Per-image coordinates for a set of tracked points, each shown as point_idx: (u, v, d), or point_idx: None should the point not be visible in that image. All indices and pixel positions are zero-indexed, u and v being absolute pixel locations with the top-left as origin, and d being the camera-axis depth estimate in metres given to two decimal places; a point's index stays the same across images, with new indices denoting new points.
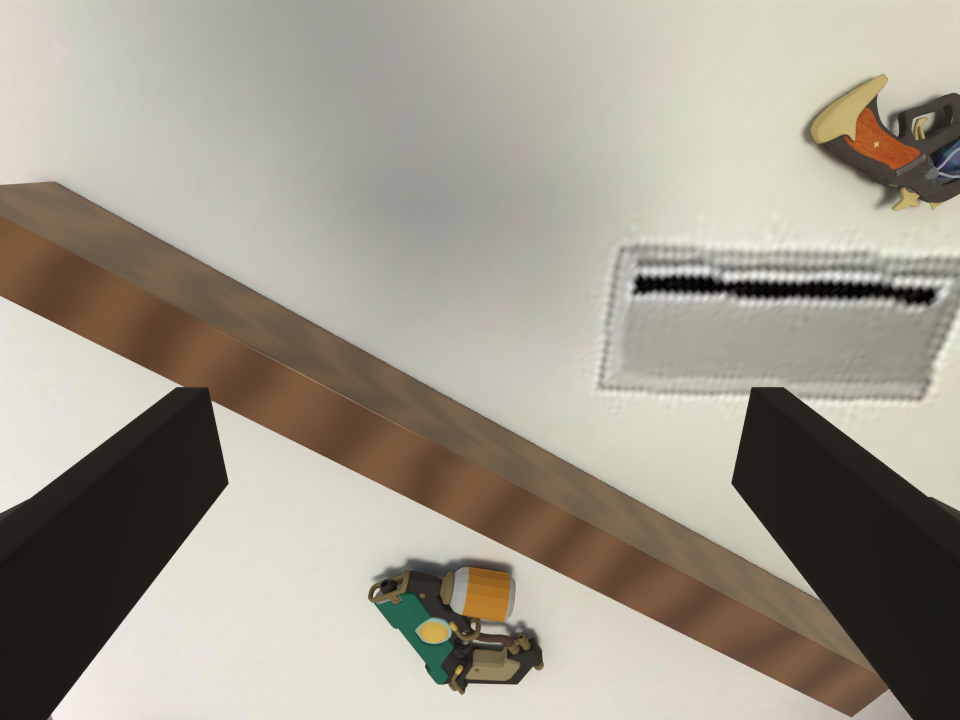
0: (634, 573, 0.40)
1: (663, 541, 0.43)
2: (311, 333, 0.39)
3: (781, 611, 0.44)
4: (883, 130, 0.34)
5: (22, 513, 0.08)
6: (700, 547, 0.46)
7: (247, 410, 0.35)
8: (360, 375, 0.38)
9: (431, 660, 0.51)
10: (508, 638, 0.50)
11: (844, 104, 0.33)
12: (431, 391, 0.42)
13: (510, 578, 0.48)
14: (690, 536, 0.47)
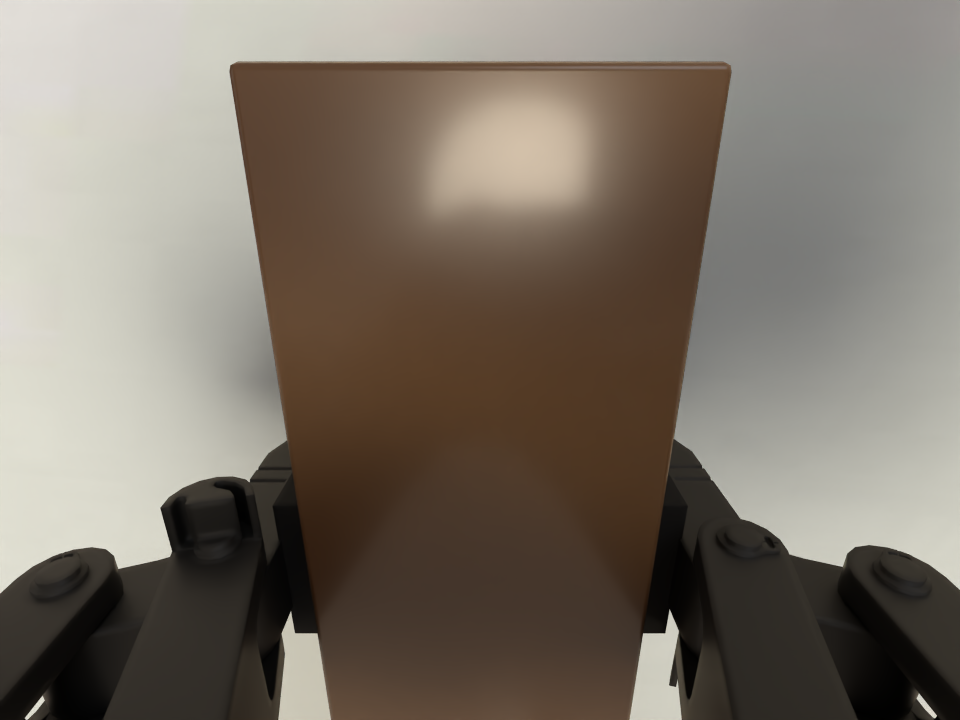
0: None
1: None
2: None
3: None
4: None
5: None
6: None
7: None
8: None
9: None
10: None
11: None
12: None
13: None
14: None
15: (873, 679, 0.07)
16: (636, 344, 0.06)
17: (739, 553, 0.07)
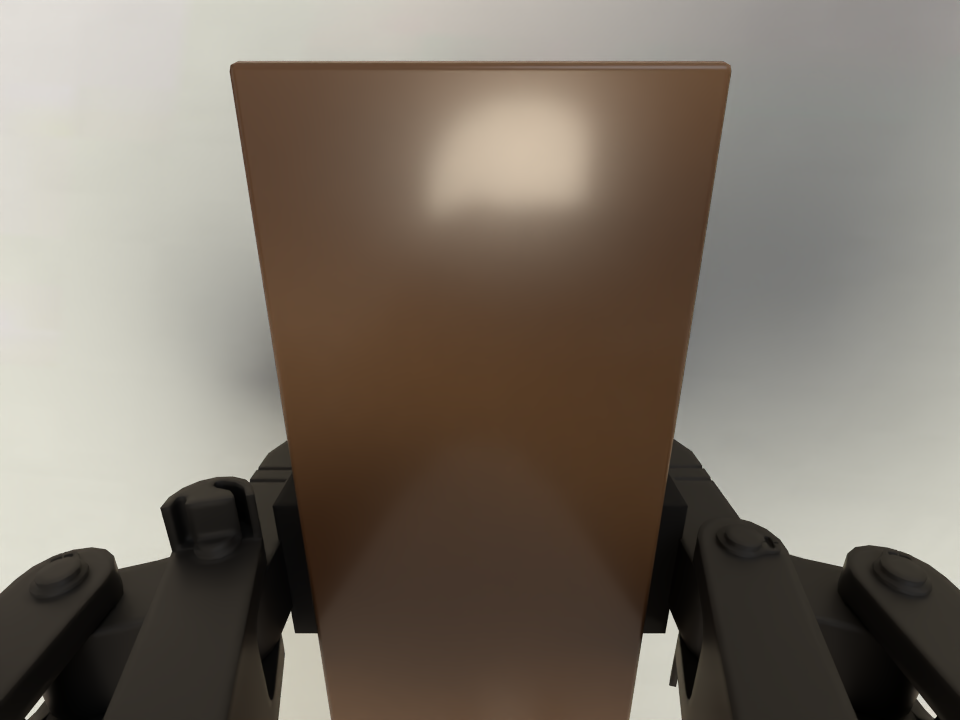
0: None
1: None
2: None
3: None
4: None
5: None
6: None
7: None
8: None
9: None
10: None
11: None
12: None
13: None
14: None
15: (873, 679, 0.07)
16: (636, 344, 0.06)
17: (739, 553, 0.07)
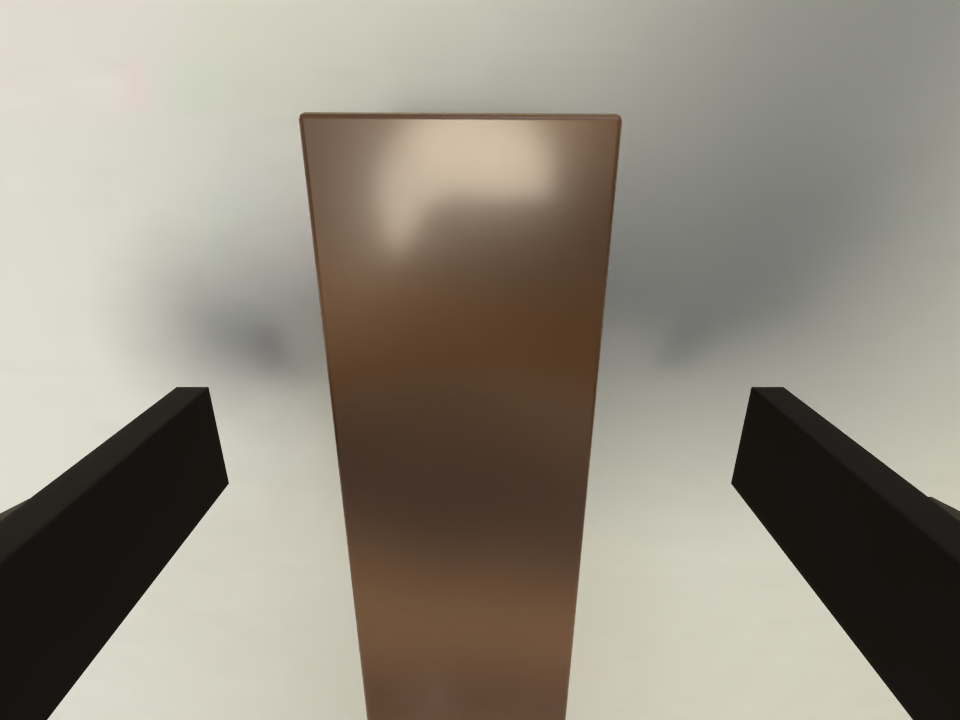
0: None
1: None
2: None
3: None
4: None
5: (22, 513, 0.08)
6: None
7: None
8: None
9: None
10: None
11: None
12: None
13: None
14: None
15: None
16: (568, 300, 0.09)
17: None
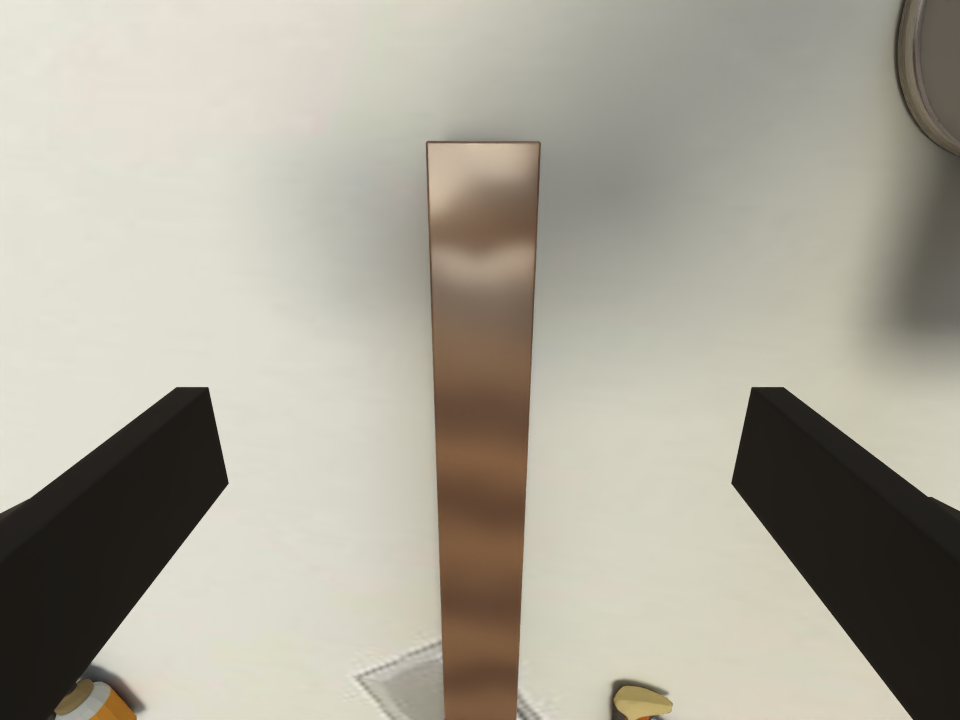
0: None
1: None
2: None
3: None
4: None
5: (22, 513, 0.08)
6: None
7: (448, 519, 0.30)
8: None
9: None
10: None
11: (643, 705, 0.44)
12: None
13: None
14: None
15: None
16: (523, 211, 0.23)
17: None
